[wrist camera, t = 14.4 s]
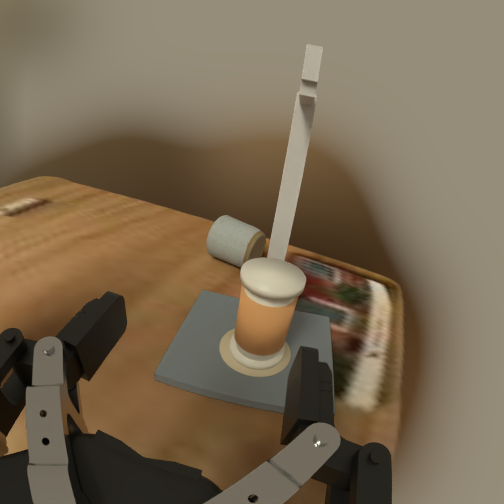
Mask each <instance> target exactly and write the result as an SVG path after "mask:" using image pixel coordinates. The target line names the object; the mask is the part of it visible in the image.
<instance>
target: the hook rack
mask: <svg viewBox="0 0 504 504" xmlns="http://www.w3.org/2000/svg"><path fill="white" fill-rule="evenodd" d="M322 51H323V47H319V46H314V45H308V44H307V48H306V54H305V60H304V66H303V72H302V78H301V86H300V92H297V97H296V103H295V109H294V115H293V121H292V126H291V132H290V137H289V143H288V149H287V155H286V160H285V165H284V171H283V176H282V182H281V187H280V193H279V198H278V203H277V209H276V214H275V219H274V224H273V230H272V235H271V240H270V245H269V250H268V255H267V258H275V259H279V260H283V261H284V260H285V255H286V251H287V247H288V242H289V237H290V233H291V228H292V224H293V219H294V214H295V210H296V205H297V200H298V195H299V190H300V185H301V180H302V176H303V170H304V165H305V160H306V155H307V150H308V145H309V139H310V134H311V128H312V123H313V117H314V111H315V106H316V100H317V95H315V93H316V87H317V82H318V76H319V69H320V63H321V57H322ZM239 300H240V298H235V297H231V296H227V295H223V294H218V293H214V292H210V291H206V290H202V292H201V293H200V295H199V297H198V298H197V300H196V302H195V304H194V305H193V307H192V309H191V310H190V312H189V314H188V315H187V317H186V319H185V321H184V322H183V324H182V326H181V327H180V329H179V331H178V333H177V334H176V336H175V338H174V340H173V341H172V343H171V345H170V346H169V348H168V350H167V352H166V353H165V355H164V357H163V359H162V360H161V362H160V364H159V366H158V368H157V369H156V371H155V373H154V374H155V380H156V381H159V382H162V383H165V384H168V385H171V386H174V387H177V388H180V389H183V390H187V391H190V392H193V393H197V394H200V395H204V396H207V397H211V398H215V399H218V400H222V401H226V402H230V403H235V404H239V405H243V406H248V407H253V408H257V409H262V410H268V411H273V412H279V413H284V409H285V400H286V391H287V381H288V375H289V372H290V369H291V366H292V364H293V362H294V359H295V357H296V355H297V352H298V350H299V348H300V346H305V347H311V348H316V349H318V351H319V362H325V363H327V364H328V366H329V368H330V369H331V371H332V378H333V361H332V346H331V333H330V321H329V317H326V316H321V315H316V314H311V313H306V312H301V311H296V310H294V313H293V317H292V320H291V323H290V327H289V330H288V333H287V336H286V340H285V343H284V346H285V352H284V355H283V358H282V360H281V362H280V363H279V364H278V365H277V366H275V367H273V368H271V369H267V370H253V369H249V368H246V367H244V366H242V365H240V364H239V363H238V362H236V361H235V360H234V358H233V357H232V355H231V353H230V341H231V338H232V336H233V334H234V333H235V326H236V320H237V313H238V307H239ZM332 385H333V403H334V379H333V384H332ZM334 414H335V406H334Z"/></svg>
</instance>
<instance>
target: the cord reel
mask: <svg viewBox="0 0 504 504" xmlns="http://www.w3.org/2000/svg"><path fill="white" fill-rule="evenodd" d="M240 281H241V283H242V287H241V294H240V300H239V307H238V313H237V320H236V326H235V333H234V334H233V336H232V338H231V341H230V353H231V355H232V357H233V358H234V360H235V361H236V362H238V363H239V364H240V365H242V366H244V367H246V368H249V369H253V370H267V369H271V368H273V367H275V366H277V365H278V364H279V363H280V362H281V360H282V358H283V355H284V352H285V346H284V343H285V340H286V336H287V333H288V330H289V327H290V323H291V320H292V317H293V313H294V310H295V307H296V303H297V300H298V296H299V295H301V294H302V292H303V290H304V287H305V284H306V277H305V275H304V273H303V272H302V271H301V270H300V269H299V268H298V267H296V266H295V265H293V264H291V263H289V262H286V261H283V260H279V259H275V258H254V259H251V260H248V261H246V262H245V263H244V264H243V265H242V267H241V272H240Z"/></svg>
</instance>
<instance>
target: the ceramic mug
mask: <svg viewBox="0 0 504 504" xmlns="http://www.w3.org/2000/svg"><path fill="white" fill-rule="evenodd" d="M265 243H266V238H265V235H264V233H263V232H262V231H260V230H259V229H257V228H255V227H253V226H250V225H248V224H246V223H244V222H241V221H239V220H237V219H235V218H232V217H230V216H228V215H224V216H221V217H220V218H218V219H217V220H216V221H215V222H214V224H213V225H212V227H211V229H210V231H209V234H208V238H207V251H208V253H209V254H210V255H211V256H213V257H216V258H218V259H221V260H223V261H225V262H228V263H231V264H233V265H235V266H237V267H240V268H241V267H242V265H243V264H244V263H245V262H246V261H248V260H251V259H254V258H261V256H262V254H263V251H264V248H265Z"/></svg>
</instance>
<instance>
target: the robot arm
mask: <svg viewBox="0 0 504 504" xmlns="http://www.w3.org/2000/svg"><path fill="white" fill-rule="evenodd" d="M126 325H127V318H126V310H125V301H124V297H123V296H121V295H118V294H115V293H112V292H109V291H108V292H106V293H105V294H104V295H103V296H102V297H101V298H100V299H97V298H96V299H94V300H92V301H90V302H88V303H87V304H86V305H85V306H84V307H83V308H82V309H81V311H79V312H78V313H77V314H76V315H75V317H73V318H72V319H71V320H70V322H69V323H68V324H67V325H66V326H65V327H64V328H63V329H62V330H61V331H60V332H59V333H58V335H57V336H56V337H52V336H48V337H44V338H42V339H40V340H39V341H38V342H37V341H32V340H28V339H24V337H23V335H22V333H21V331H20V330H19V329H16V328H9V329H6V330H5V331H3V332H2V333H1V334H0V385H1V382H2V380H3V379H4V377H5V376H6V375H7V373H8V372H9V371H10V369H11V368H12V369H13V371H14V372H13V373H12V374H11V376H10V377H9V378H8V380H7V381H6V383H5V384H4V385H3V387H2V388H1V389H0V504H283V503H285V502H286V501H287V500H288V499H289V498H290V497H291V496H293V495H294V494H295V493H296V492H297V491H298V490H299V489H300V488H301V486H302V485H303V484H304V483H305V482H306V481H307V480H308V479H309V478H312V479H315V480H317V481H320V482H323V483H325V484H327V490H326V498H325V504H392V468H391V455H390V452H389V450H388V449H387V448H386V447H385V446H384V445H382V444H380V443H375V442H373V443H368V444H366V445H364V446H360V445H358V444H355V443H352V442H349V441H347V440H345V439H344V438H342V437H341V436H340V435H339V433H338V431H337V430H336V429H335V426H334V403H333V385H332V384H333V378H332V371H331V369H330V368H329V366H328V364H327V363H325V362H319V351H318V349H316V348H311V347H305V346H300V348H299V350H298V352H297V355H296V357H295V359H294V362H293V364H292V366H291V369H290V372H289V375H288V381H287V391H286V400H285V409H284V418H283V426H282V434H281V442H280V444H282V445H287V446H286V447H285V448H284V449H283V450H281V451H280V452H279V453H278V454H277V455H275V456H274V457H273V458H271V459H270V460H267V461H265V462H264V463H263V464H261V465H260V466H259V467H257V468H256V469H255V470H253V471H252V472H250V473H249V474H248V475H246V476H245V477H244V478H242V479H241V480H239V481H238V482H236V483H235V484H233V485H232V486H230V487H229V488H227V489H226V490H224V491H222V490H221V489H220V488H219V487H218V486H217V485H216V484H214V483H213V482H212V481H210V480H209V479H207V478H206V477H204V476H202V475H201V473H202V470H199V469H196V468H192V467H189V466H186V465H183V464H179V463H176V462H172V461H164V460H156V459H150V458H145V457H143V456H141V455H140V454H138V453H137V452H135V451H134V450H133V449H131V448H130V447H129V446H127V445H126V444H125V443H123V442H122V441H120V440H118V439H116V438H114V437H112V436H110V435H108V434H106V433H104V432H102V431H100V430H98V431H97V432H96V434H89V433H88V430H87V427H86V425H85V422H84V419H83V413H82V406H81V399H80V390H79V383H78V381H79V380H80V378H81V377H82V378H83V379H85V380H87V381H90V380H91V378H92V377H93V375H94V374H95V372H96V371H97V369H98V368H99V367H100V365H101V364H102V362H103V361H104V360H105V358H106V357H107V355H108V354H109V353H110V351H111V350H112V348H113V347H114V346H115V344H116V343H117V342H118V340H119V339H120V337H121V336H122V335H123V333H124V332H125V329H126ZM25 405H26V427H27V441H28V449H27V450H24V451H20V452H17V453H13V454H9V455H6V454H7V453H8V447H7V445H6V444H7V442H6V437H7V435H8V433H9V431H10V430H11V428H12V426H13V425H14V423H15V421H16V420H17V418H18V416H19V415H20V413H21V411H22V410H23V408H24V407H25ZM4 455H5V456H4Z"/></svg>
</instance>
